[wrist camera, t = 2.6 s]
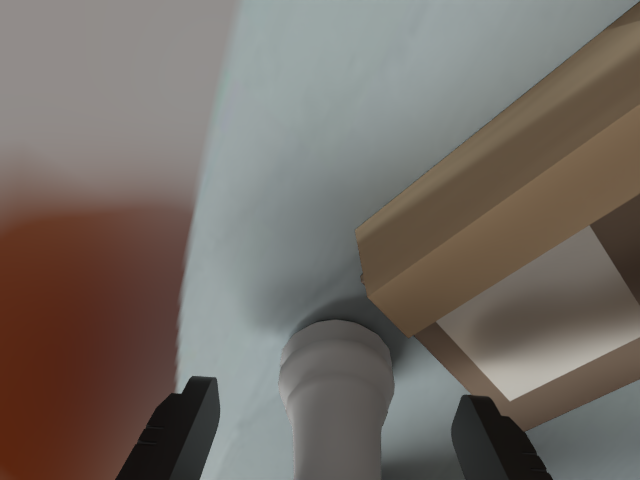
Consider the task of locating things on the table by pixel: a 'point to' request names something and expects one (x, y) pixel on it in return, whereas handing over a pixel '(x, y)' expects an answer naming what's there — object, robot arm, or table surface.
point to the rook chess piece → (336, 400)
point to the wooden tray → (528, 241)
